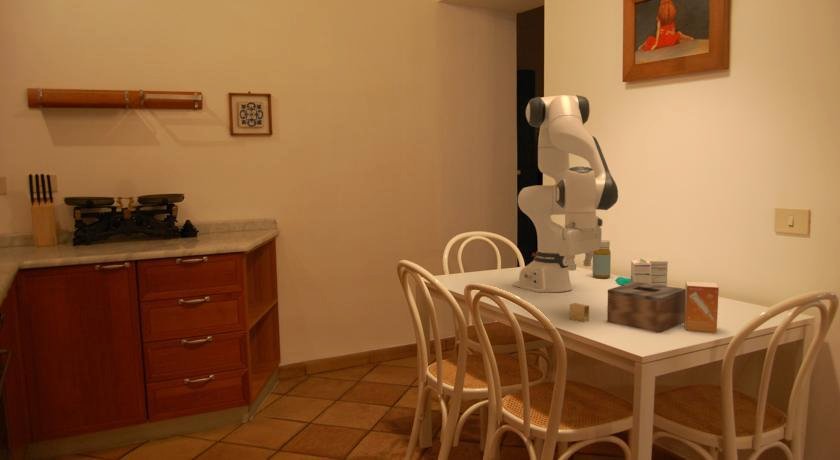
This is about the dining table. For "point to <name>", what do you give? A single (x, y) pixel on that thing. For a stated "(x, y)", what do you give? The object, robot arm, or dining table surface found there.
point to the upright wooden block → (579, 312)
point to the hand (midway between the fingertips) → (579, 268)
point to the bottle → (602, 260)
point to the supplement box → (658, 270)
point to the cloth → (623, 280)
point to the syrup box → (641, 271)
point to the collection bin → (646, 306)
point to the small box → (701, 306)
